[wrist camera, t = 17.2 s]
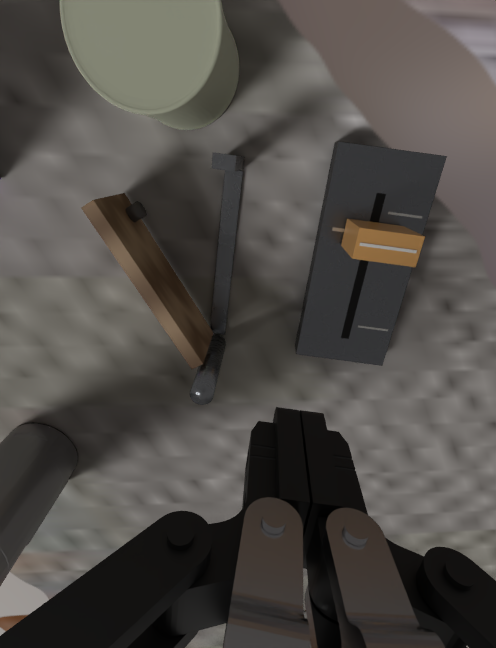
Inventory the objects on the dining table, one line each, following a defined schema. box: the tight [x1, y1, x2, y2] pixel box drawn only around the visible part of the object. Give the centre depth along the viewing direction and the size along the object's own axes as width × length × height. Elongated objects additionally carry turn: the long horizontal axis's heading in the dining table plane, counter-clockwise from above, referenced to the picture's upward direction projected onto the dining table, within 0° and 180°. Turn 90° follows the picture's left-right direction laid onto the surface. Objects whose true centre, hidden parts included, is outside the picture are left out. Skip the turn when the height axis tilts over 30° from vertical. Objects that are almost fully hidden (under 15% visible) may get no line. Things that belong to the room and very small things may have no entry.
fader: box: [341, 219, 425, 267], centre depth 31 cm, size 2×5×5 cm, turn 83°
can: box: [60, 0, 239, 130], centre depth 26 cm, size 9×9×12 cm
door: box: [82, 193, 213, 369], centre depth 34 cm, size 16×2×7 cm, turn 29°
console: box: [295, 142, 446, 366], centre depth 36 cm, size 20×9×2 cm, turn 173°
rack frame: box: [190, 153, 244, 405], centre depth 33 cm, size 20×2×10 cm, turn 173°
